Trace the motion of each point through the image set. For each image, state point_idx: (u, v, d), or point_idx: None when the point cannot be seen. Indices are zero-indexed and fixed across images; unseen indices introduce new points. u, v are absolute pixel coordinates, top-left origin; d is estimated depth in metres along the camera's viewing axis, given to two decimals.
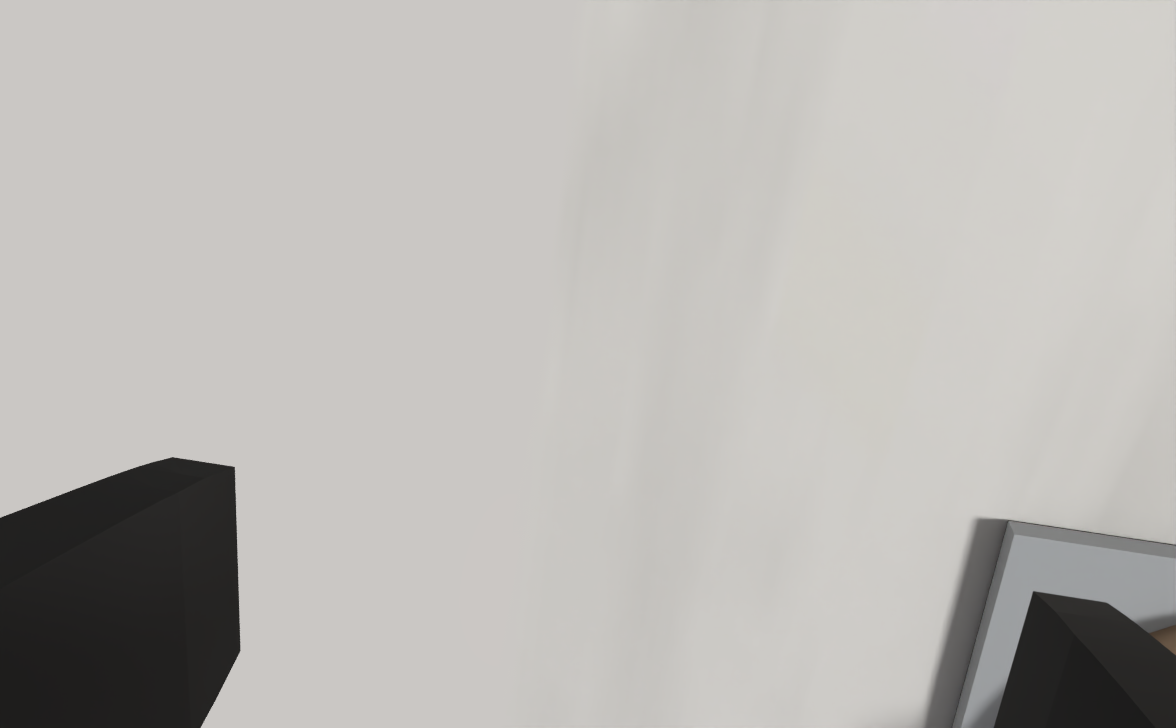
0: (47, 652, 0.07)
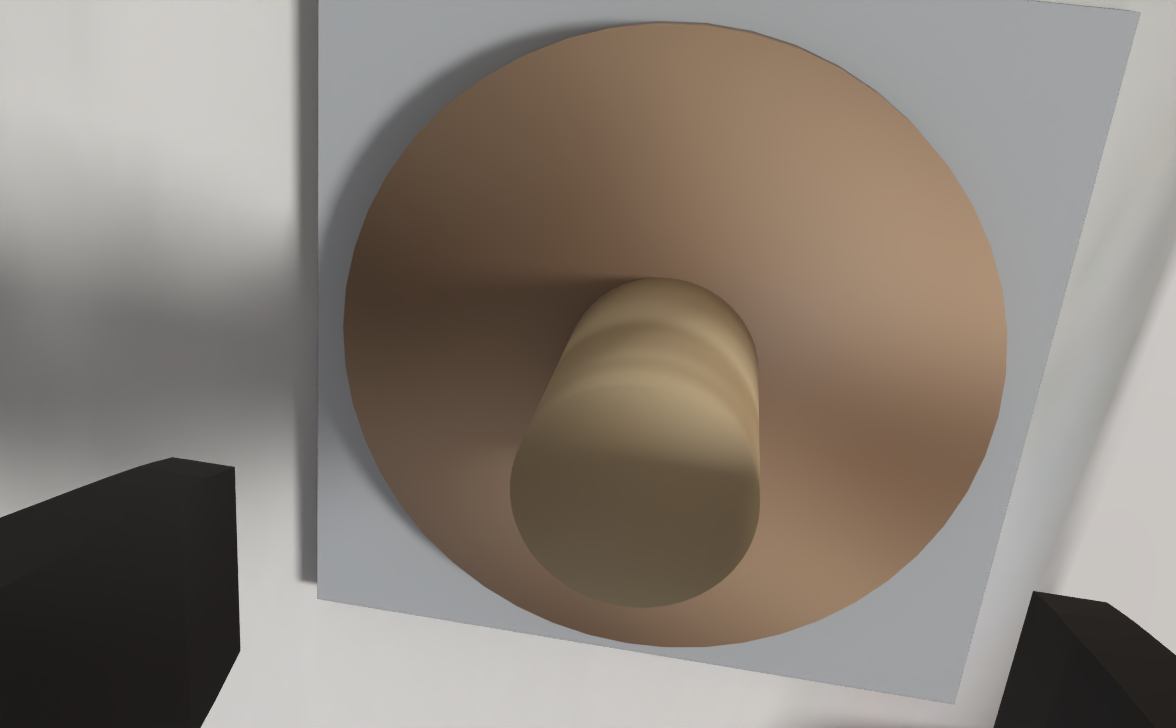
0: (47, 652, 0.07)
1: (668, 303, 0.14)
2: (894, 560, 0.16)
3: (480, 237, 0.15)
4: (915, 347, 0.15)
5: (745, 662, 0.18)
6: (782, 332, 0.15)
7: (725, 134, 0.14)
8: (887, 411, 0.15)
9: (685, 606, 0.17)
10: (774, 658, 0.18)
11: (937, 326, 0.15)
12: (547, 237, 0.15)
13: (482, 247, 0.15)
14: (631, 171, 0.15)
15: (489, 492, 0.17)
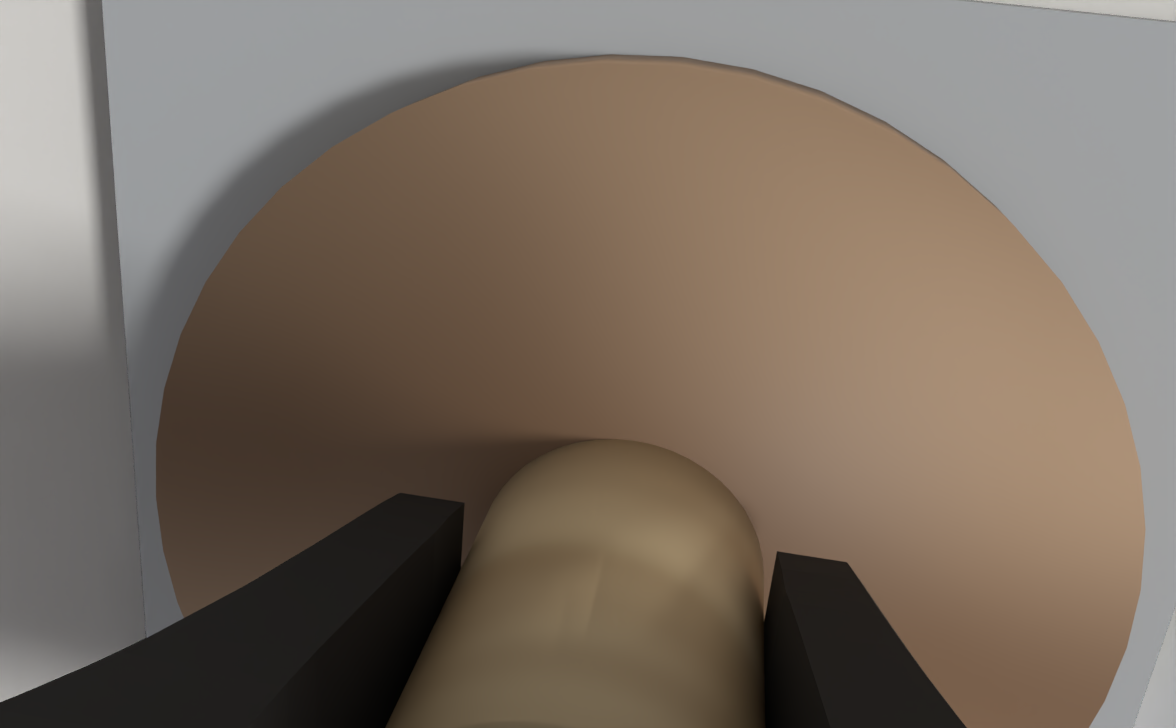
0: (346, 705, 0.07)
1: (621, 498, 0.09)
2: None
3: (346, 377, 0.10)
4: (1002, 547, 0.10)
5: None
6: (800, 520, 0.10)
7: (711, 231, 0.09)
8: (957, 635, 0.10)
9: None
10: None
11: (1037, 518, 0.10)
12: (445, 378, 0.10)
13: (351, 391, 0.10)
14: (568, 284, 0.10)
15: None
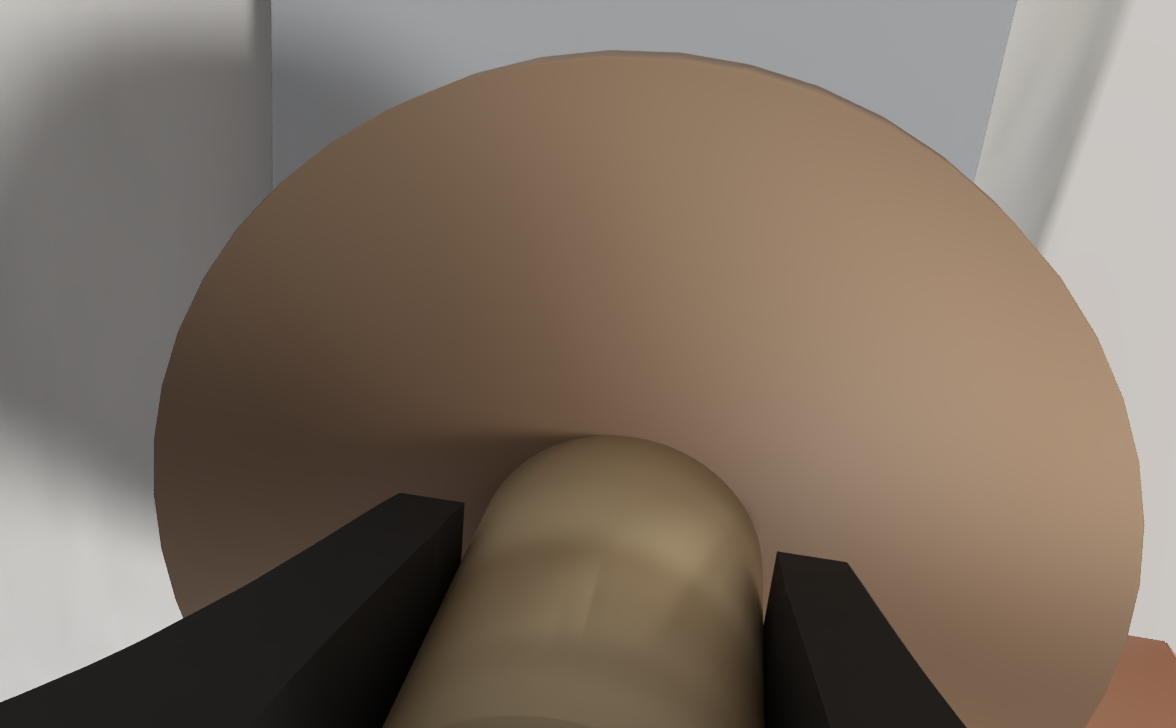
0: (346, 705, 0.07)
1: (620, 494, 0.09)
2: None
3: (345, 374, 0.10)
4: (1001, 542, 0.10)
5: None
6: (798, 516, 0.10)
7: (709, 226, 0.09)
8: (956, 631, 0.10)
9: None
10: None
11: (1035, 513, 0.10)
12: (443, 375, 0.10)
13: (348, 387, 0.10)
14: (566, 280, 0.10)
15: None
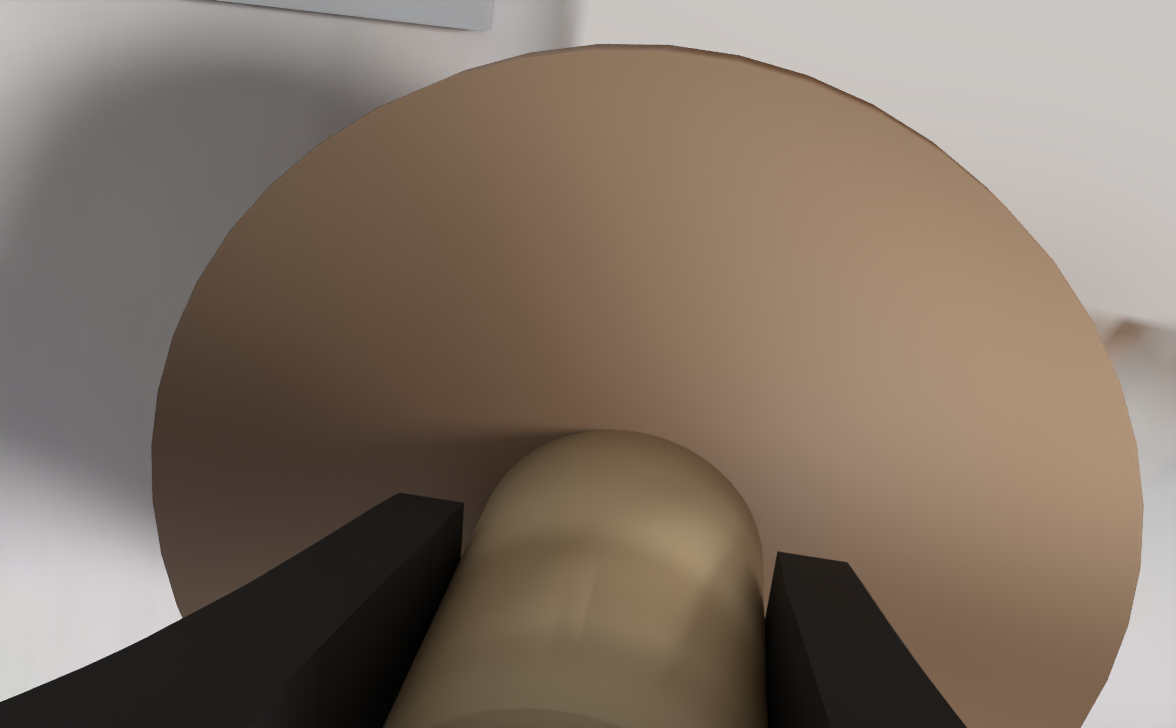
0: (346, 705, 0.07)
1: (619, 487, 0.09)
2: None
3: (340, 374, 0.10)
4: (1000, 527, 0.10)
5: None
6: (798, 507, 0.10)
7: (701, 218, 0.09)
8: (958, 617, 0.10)
9: None
10: None
11: (1034, 497, 0.10)
12: (439, 373, 0.10)
13: (345, 388, 0.10)
14: (559, 275, 0.10)
15: None
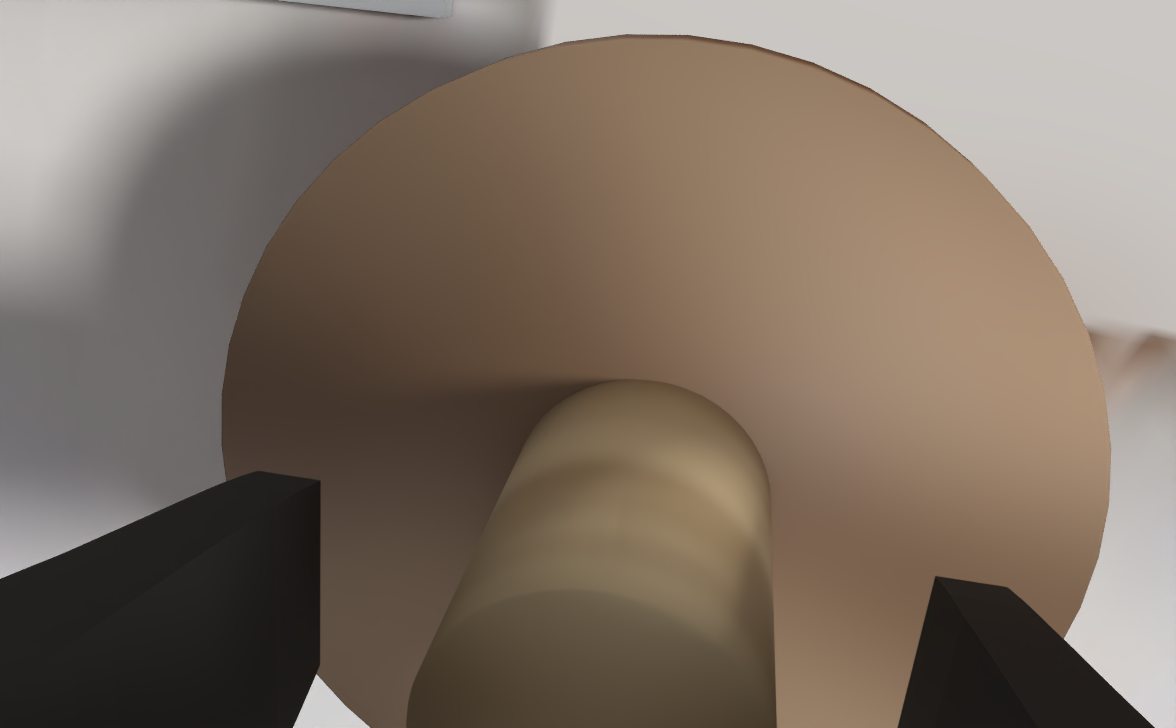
0: (158, 672, 0.07)
1: (644, 425, 0.10)
2: None
3: (394, 329, 0.11)
4: (983, 468, 0.11)
5: None
6: (802, 450, 0.11)
7: (717, 188, 0.10)
8: (946, 551, 0.11)
9: None
10: None
11: (1014, 440, 0.11)
12: (482, 328, 0.11)
13: (397, 341, 0.12)
14: (591, 239, 0.11)
15: (423, 652, 0.13)
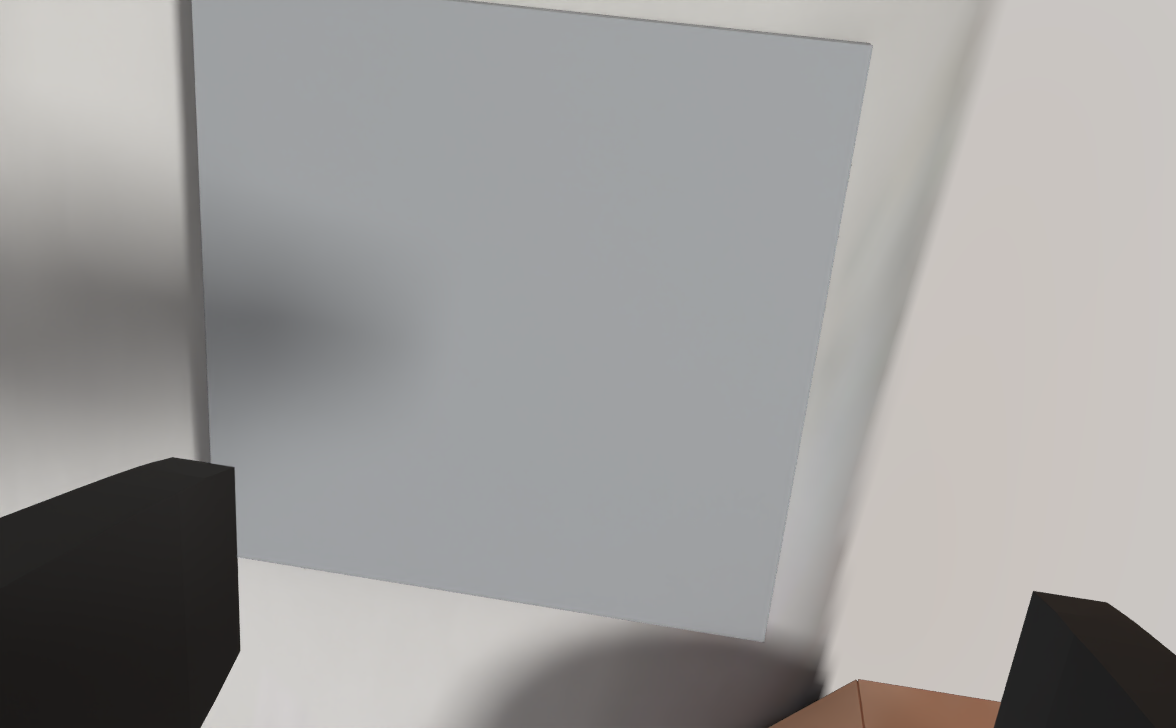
0: (47, 652, 0.07)
1: None
2: None
3: None
4: None
5: (584, 607, 0.21)
6: None
7: None
8: None
9: None
10: (608, 602, 0.21)
11: None
12: None
13: None
14: None
15: None
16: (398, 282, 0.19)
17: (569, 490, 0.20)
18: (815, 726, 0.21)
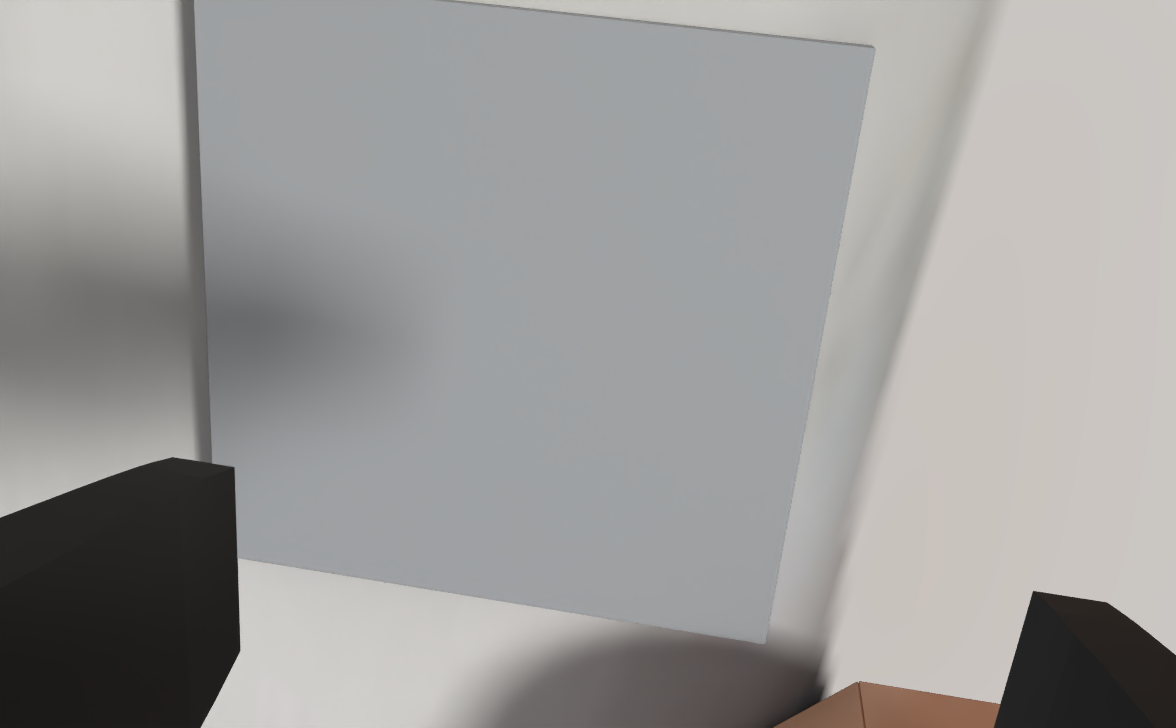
0: (47, 652, 0.07)
1: None
2: None
3: None
4: None
5: (585, 608, 0.21)
6: None
7: None
8: None
9: None
10: (609, 604, 0.21)
11: None
12: None
13: None
14: None
15: None
16: (400, 284, 0.19)
17: (571, 491, 0.20)
18: None
